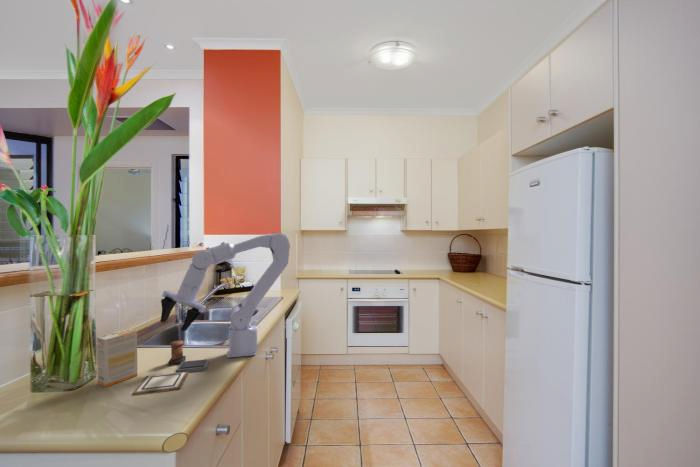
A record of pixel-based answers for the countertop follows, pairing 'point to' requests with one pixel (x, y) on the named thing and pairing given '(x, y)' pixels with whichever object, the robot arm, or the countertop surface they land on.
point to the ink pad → (193, 366)
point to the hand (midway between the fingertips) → (173, 325)
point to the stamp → (176, 353)
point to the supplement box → (117, 357)
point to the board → (161, 383)
